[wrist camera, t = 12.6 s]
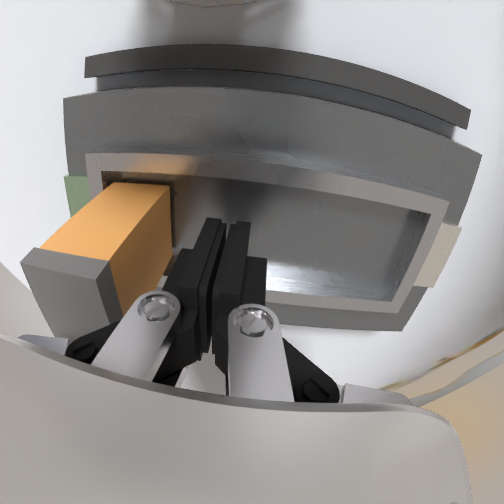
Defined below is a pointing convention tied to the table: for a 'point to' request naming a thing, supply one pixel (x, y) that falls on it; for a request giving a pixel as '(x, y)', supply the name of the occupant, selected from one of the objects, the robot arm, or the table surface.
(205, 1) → the french press
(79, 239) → the lever
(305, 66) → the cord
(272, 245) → the panel
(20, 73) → the table surface
